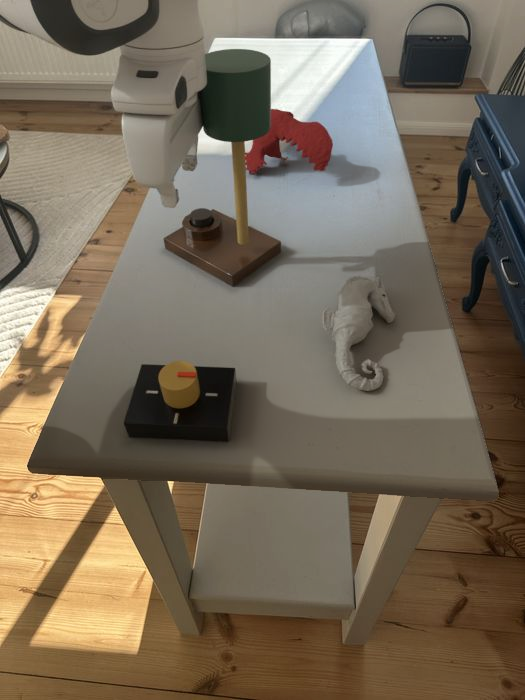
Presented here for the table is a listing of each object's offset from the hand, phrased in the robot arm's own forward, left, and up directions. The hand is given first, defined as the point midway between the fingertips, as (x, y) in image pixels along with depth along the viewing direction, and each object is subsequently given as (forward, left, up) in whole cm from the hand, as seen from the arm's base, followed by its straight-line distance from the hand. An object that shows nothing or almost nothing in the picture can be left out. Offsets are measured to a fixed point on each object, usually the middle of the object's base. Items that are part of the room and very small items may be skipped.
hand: (181, 185), depth 63 cm
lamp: (+1, +10, -14) cm, 17 cm away
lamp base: (-4, +10, -18) cm, 21 cm away
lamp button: (-9, +10, -14) cm, 19 cm away
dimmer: (+15, -17, -18) cm, 29 cm away
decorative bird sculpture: (-18, +39, -18) cm, 47 cm away
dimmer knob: (+15, -17, -15) cm, 27 cm away
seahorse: (+25, +7, -18) cm, 32 cm away
